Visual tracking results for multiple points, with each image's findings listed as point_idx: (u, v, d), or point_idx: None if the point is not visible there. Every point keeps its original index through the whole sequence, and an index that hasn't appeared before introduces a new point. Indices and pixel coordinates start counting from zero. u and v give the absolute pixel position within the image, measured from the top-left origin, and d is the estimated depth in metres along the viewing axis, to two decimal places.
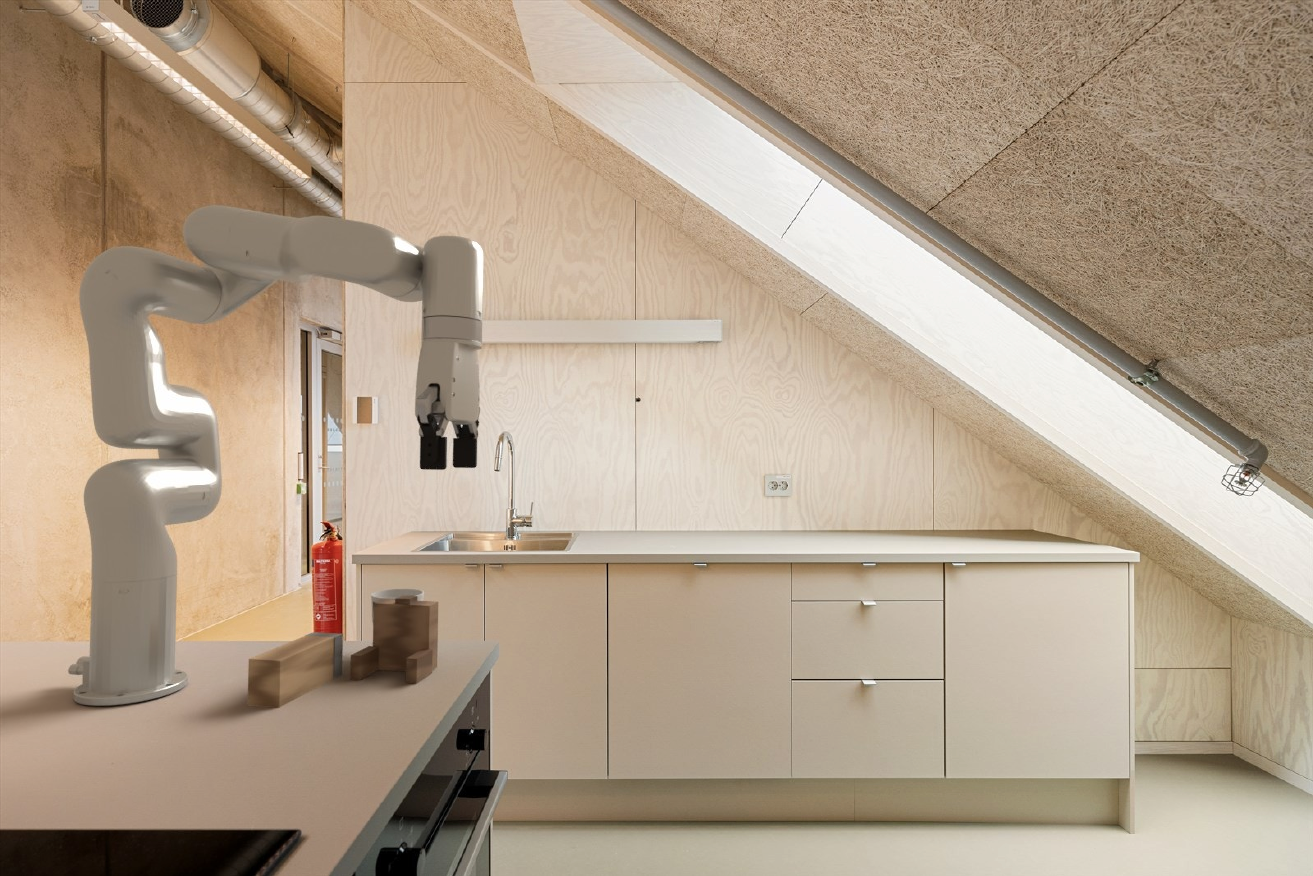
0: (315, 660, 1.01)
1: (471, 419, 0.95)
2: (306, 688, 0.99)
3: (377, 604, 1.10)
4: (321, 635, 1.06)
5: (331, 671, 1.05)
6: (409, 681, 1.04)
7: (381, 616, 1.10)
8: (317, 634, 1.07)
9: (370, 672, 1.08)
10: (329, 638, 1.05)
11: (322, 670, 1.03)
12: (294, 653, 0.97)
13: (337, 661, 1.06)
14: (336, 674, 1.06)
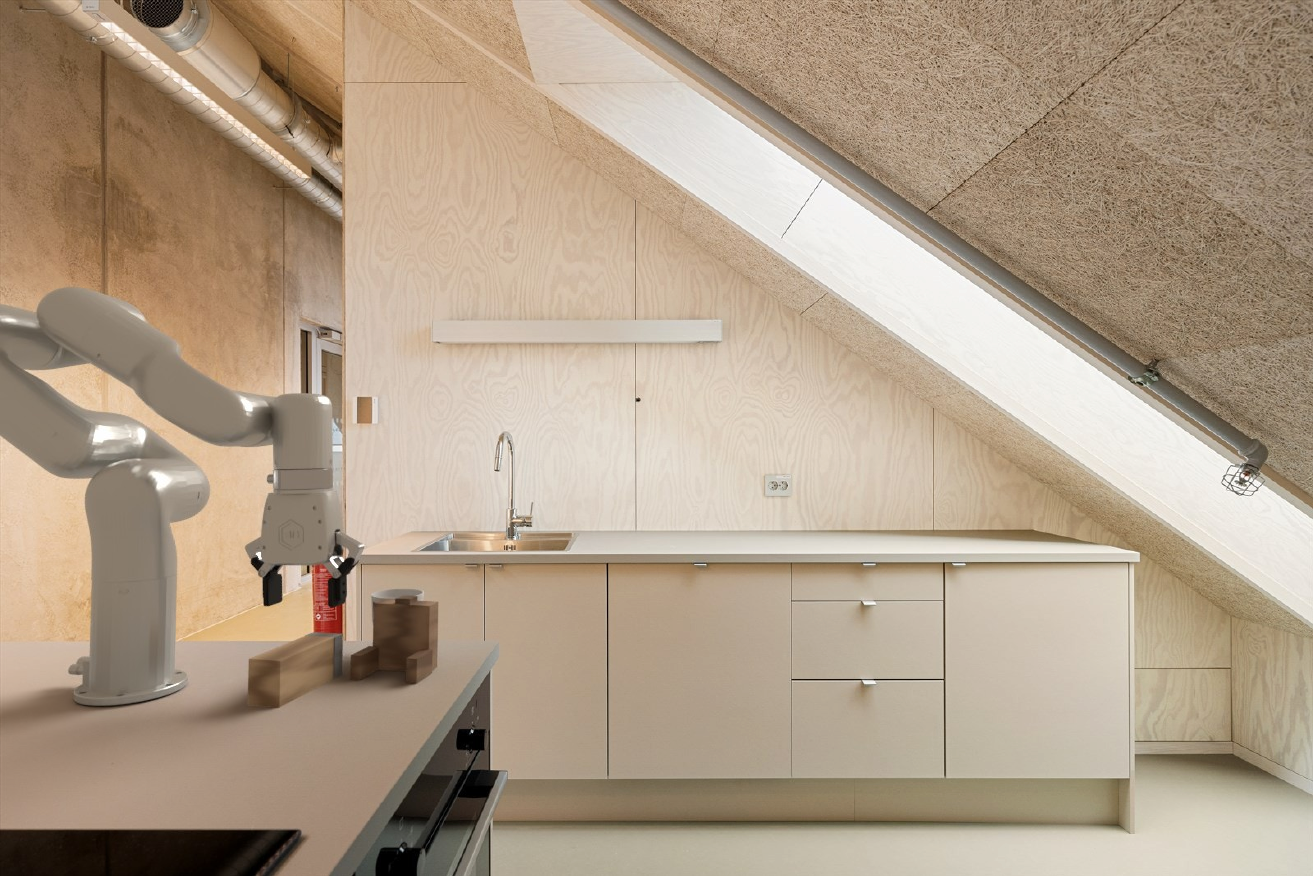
0: (315, 660, 1.01)
1: None
2: (306, 688, 0.99)
3: (377, 604, 1.10)
4: (321, 635, 1.06)
5: (331, 671, 1.05)
6: (409, 681, 1.04)
7: (381, 616, 1.10)
8: (317, 634, 1.07)
9: (370, 672, 1.08)
10: (329, 638, 1.05)
11: (322, 670, 1.03)
12: (294, 653, 0.97)
13: (337, 661, 1.06)
14: (336, 674, 1.06)
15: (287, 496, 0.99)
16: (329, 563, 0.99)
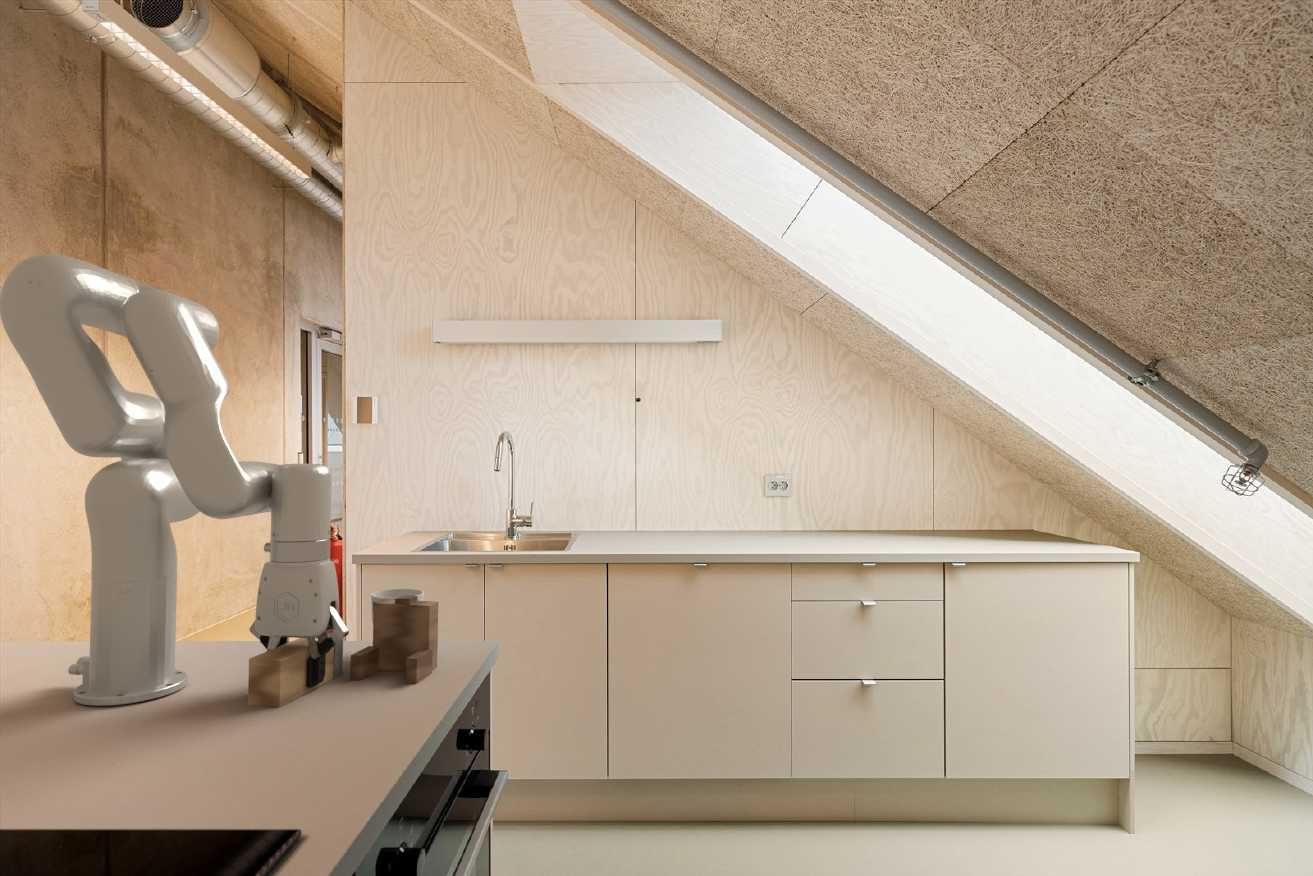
0: None
1: None
2: (306, 688, 0.99)
3: (377, 604, 1.10)
4: None
5: (331, 671, 1.05)
6: (409, 681, 1.04)
7: (381, 616, 1.10)
8: None
9: (370, 672, 1.08)
10: None
11: None
12: (294, 653, 0.97)
13: (337, 661, 1.06)
14: (336, 674, 1.06)
15: (283, 568, 0.99)
16: (313, 642, 0.99)
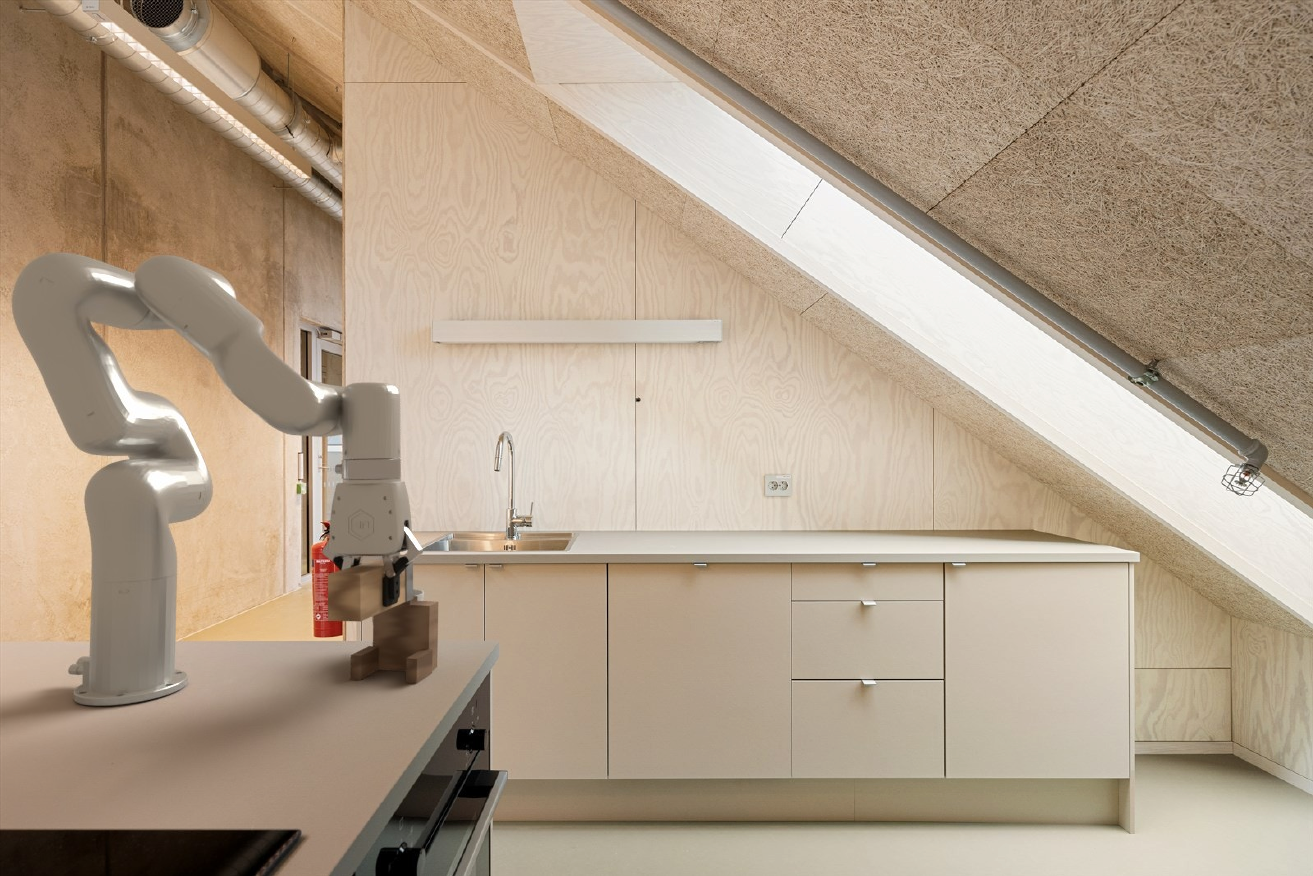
0: None
1: None
2: (383, 607, 0.99)
3: None
4: None
5: (403, 594, 1.04)
6: (409, 681, 1.04)
7: (381, 616, 1.10)
8: None
9: (370, 672, 1.08)
10: None
11: None
12: (371, 570, 0.96)
13: (408, 584, 1.06)
14: (408, 597, 1.05)
15: (357, 486, 0.98)
16: (388, 560, 0.98)
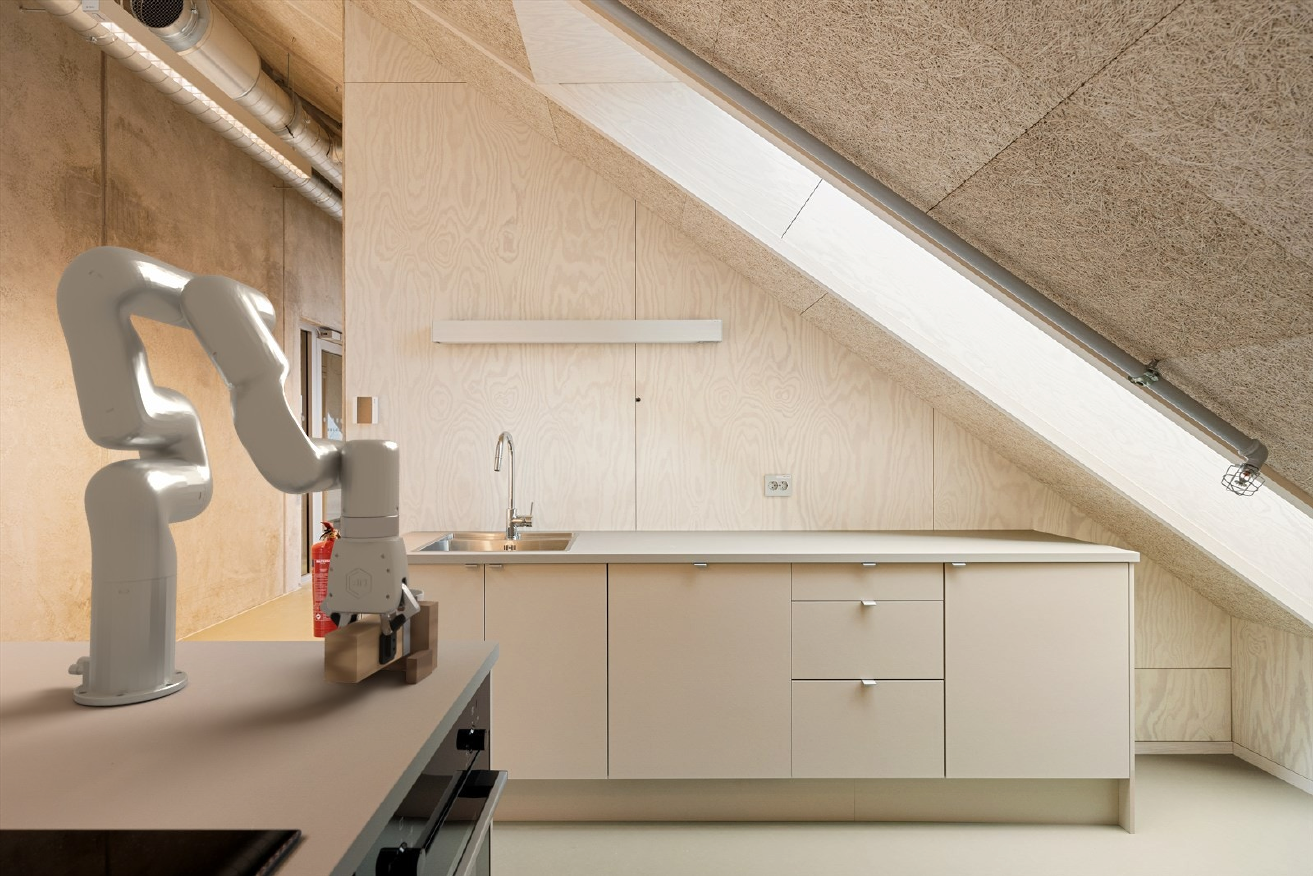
0: None
1: None
2: (379, 664, 0.98)
3: None
4: None
5: (400, 649, 1.04)
6: (409, 681, 1.04)
7: None
8: None
9: None
10: None
11: None
12: (368, 629, 0.96)
13: (405, 639, 1.05)
14: (405, 652, 1.05)
15: (355, 544, 0.98)
16: (385, 618, 0.98)
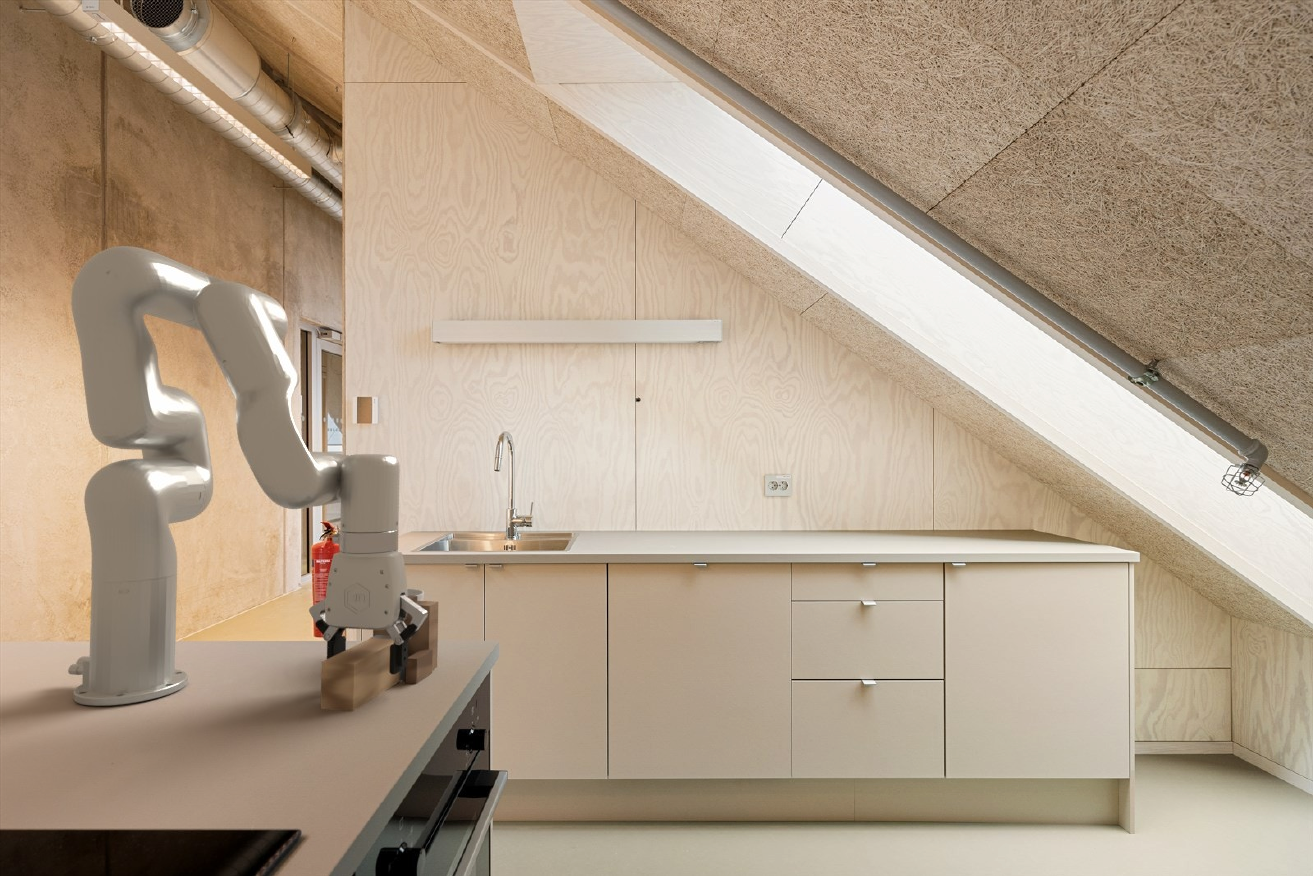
0: (383, 663, 1.00)
1: None
2: (376, 691, 0.98)
3: None
4: (386, 637, 1.06)
5: (397, 674, 1.04)
6: (409, 681, 1.04)
7: None
8: (382, 636, 1.06)
9: None
10: None
11: (390, 673, 1.02)
12: (365, 656, 0.96)
13: None
14: (402, 677, 1.05)
15: (354, 559, 0.98)
16: (392, 629, 0.98)
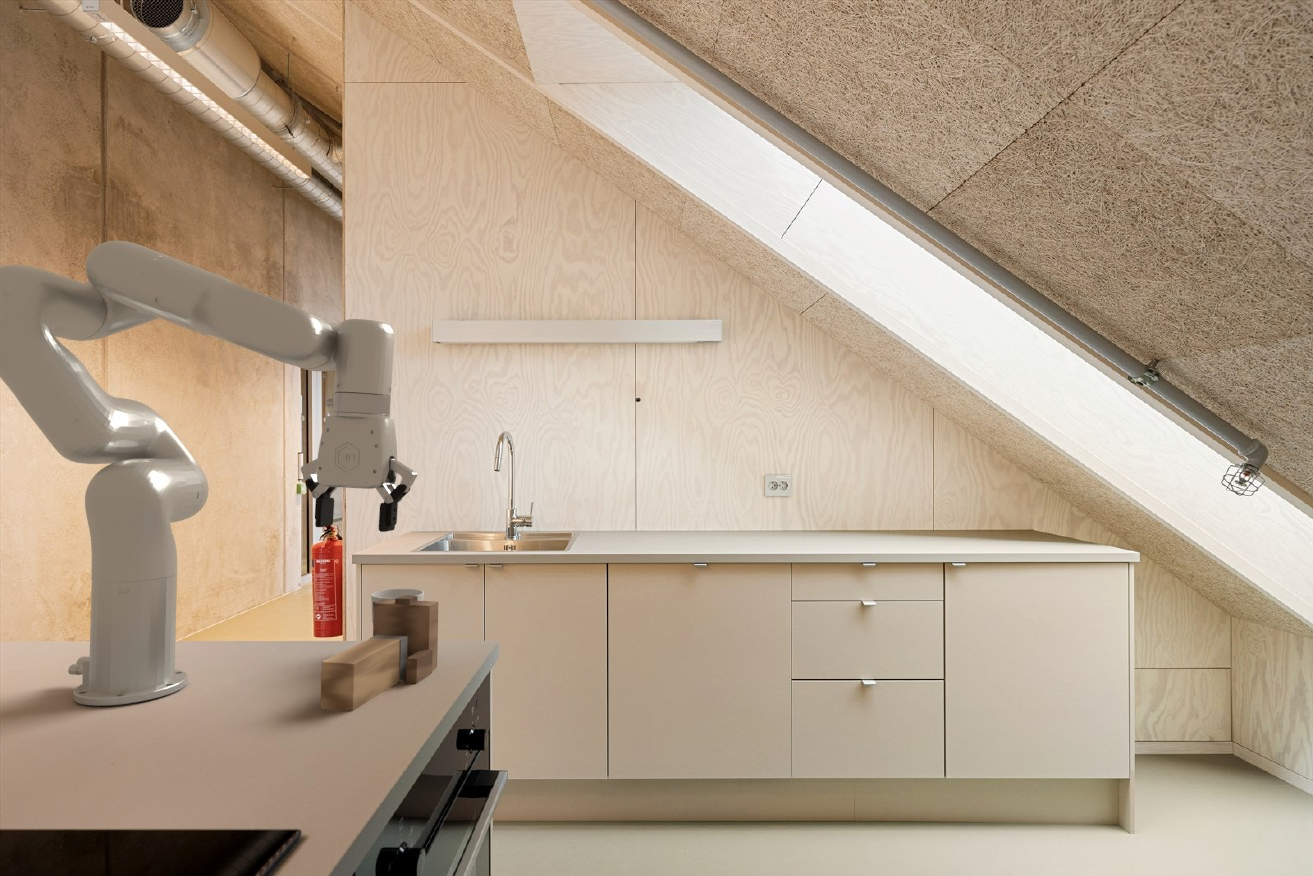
0: (383, 663, 1.00)
1: None
2: (376, 691, 0.98)
3: (377, 604, 1.10)
4: (386, 637, 1.06)
5: (397, 674, 1.04)
6: (409, 681, 1.04)
7: (381, 616, 1.10)
8: (382, 636, 1.06)
9: None
10: (395, 641, 1.04)
11: (390, 673, 1.02)
12: (365, 656, 0.96)
13: (402, 664, 1.05)
14: (402, 677, 1.05)
15: (345, 419, 1.00)
16: (382, 488, 1.01)
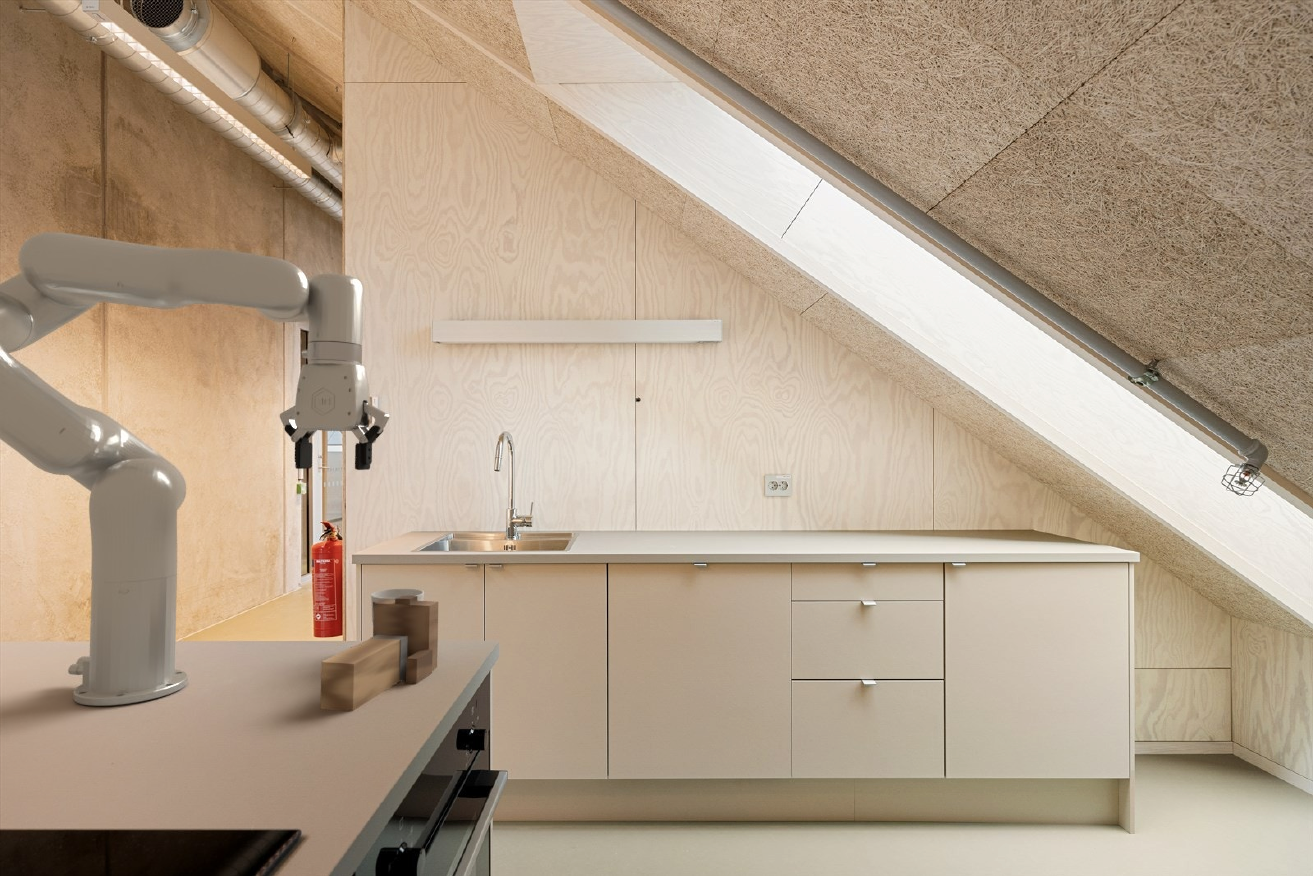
0: (383, 663, 1.00)
1: None
2: (376, 691, 0.98)
3: (377, 604, 1.10)
4: (386, 637, 1.06)
5: (397, 674, 1.04)
6: (409, 681, 1.04)
7: (381, 616, 1.10)
8: (382, 636, 1.06)
9: None
10: (395, 641, 1.04)
11: (390, 673, 1.02)
12: (365, 656, 0.96)
13: (402, 664, 1.05)
14: (402, 677, 1.05)
15: (320, 367, 1.08)
16: (357, 429, 1.08)
